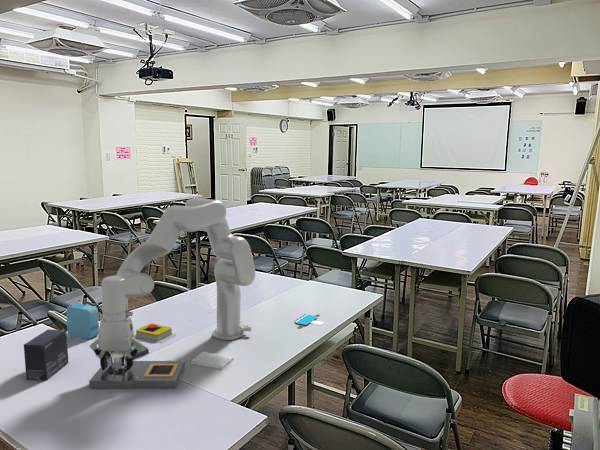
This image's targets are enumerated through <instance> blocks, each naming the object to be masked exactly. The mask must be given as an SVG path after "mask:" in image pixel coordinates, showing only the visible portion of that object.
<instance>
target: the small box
mask: <svg viewBox="0 0 600 450" xmlns="http://www.w3.org/2000/svg"><path fill="white" fill-rule="evenodd" d="M67 334H68V332H67V329H46V330H45V331H44V332H42V333H40V334H39V335H37V336H35V337H34V338H32V339H30V340H29V341H27V342H25V343H24V344H23V353H24V355H23V356H24V364H25V365H24V366H25V379H26V381H48V380H49V379H50V378H52V377H53V376H54V375H56V373H58V372H59V371H60V370H61V369H62V368H64V367H65V366H66V365H67V364H69V352H68V351H69V350H68V335H67Z"/></svg>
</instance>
